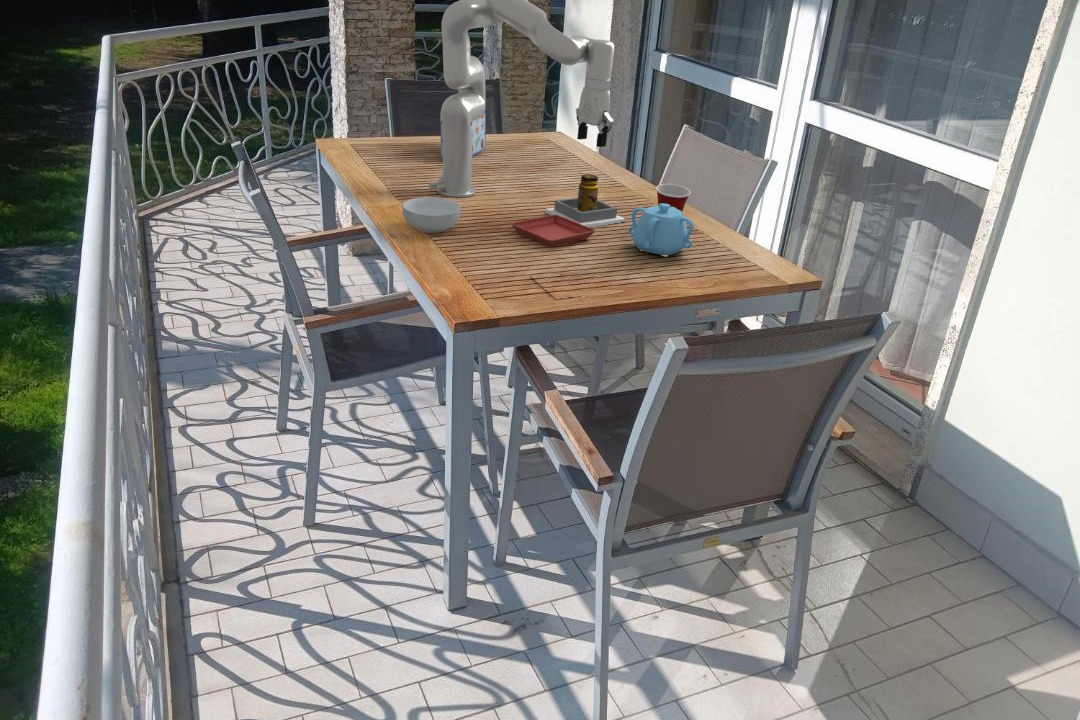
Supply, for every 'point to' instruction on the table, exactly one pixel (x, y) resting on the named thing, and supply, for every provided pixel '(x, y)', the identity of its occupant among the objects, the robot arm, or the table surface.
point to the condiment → (587, 193)
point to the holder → (586, 213)
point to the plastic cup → (672, 195)
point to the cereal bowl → (431, 213)
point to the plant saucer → (553, 230)
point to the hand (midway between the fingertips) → (591, 142)
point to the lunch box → (477, 134)
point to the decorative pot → (661, 230)
